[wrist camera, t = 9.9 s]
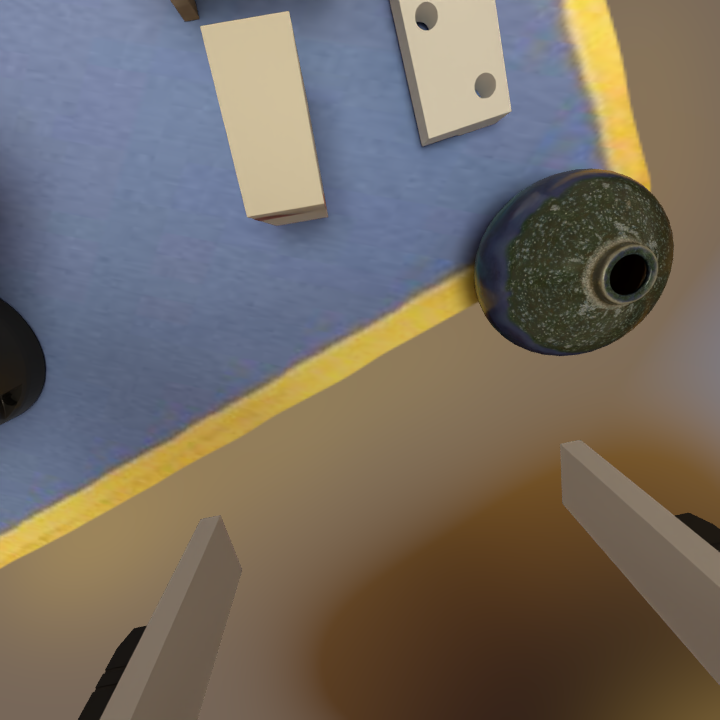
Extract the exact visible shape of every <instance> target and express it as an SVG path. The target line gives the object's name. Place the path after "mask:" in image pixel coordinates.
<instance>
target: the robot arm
mask: <svg viewBox="0 0 720 720" xmlns="http://www.w3.org/2000/svg"><path fill="white" fill-rule="evenodd" d="M44 379H45V364H44V358H43V354H42V351H41V348H40V345H39V343H38V341H37V339H36V337H35V335H34V334H33V332H32V330H31V329H30V327H29V326H28V325H27V323H26V322H25V321H24V320H23V319H22V317H21V316H20V315H19V314H18V313H17V312H16V311H15V310H14V309H12V308H11V307H10V306H9V305H8V304H6V303H5V302H4V301H2V300H1V299H0V425H1V424H3V423H5V422H7V421H9V420H11V419H13V418H15V417H16V416H18V415H20V414H22V413H23V412H25V411H26V410H27V409H28V408H30V407H31V406H32V405H33V403H34V402H35V401H36V400H37V398H38V396H39V394H40V393H41V390H42V387H43V384H44ZM560 449H561V477H562V503H563V505H564V506H565V507H566V508H567V509H568V510H569V511H570V512H571V514H572V515H573V516H574V517H575V518H576V520H577V521H578V522H579V523H580V524H581V525H582V526H583V528H584V529H585V530H586V531H587V532H588V533H589V534H590V536H591V537H592V538H593V539H594V540H595V542H596V543H597V544H598V545H599V546H600V547H601V548H602V550H603V551H604V552H605V553H606V554H607V555H608V556H609V558H610V559H611V560H612V561H613V562H614V563H615V565H616V566H617V567H618V568H619V569H620V570H621V572H622V573H623V574H624V575H625V576H626V577H627V579H628V580H629V581H630V582H631V583H632V584H633V585H634V587H635V588H636V589H637V590H638V591H639V592H640V593H641V595H642V596H643V597H644V598H645V599H646V601H647V602H648V603H649V604H650V605H651V606H652V607H653V608H654V610H655V611H656V612H657V613H658V614H659V616H660V617H661V618H662V619H663V620H664V621H665V622H666V624H667V625H668V626H669V627H670V628H671V629H672V631H673V632H674V633H675V634H676V635H677V636H678V637H679V639H680V640H681V641H682V642H683V643H684V644H685V646H686V647H687V648H688V649H689V650H690V651H691V653H692V654H693V655H694V656H695V657H696V658H697V659H698V661H699V662H700V663H701V664H702V665H703V666H704V668H706V670H707V671H708V672H709V673H710V675H711V676H712V677H713V678H714V679H715V680H716V681H717V683H718V684H719V685H720V529H719V528H717V527H716V526H715V525H713V524H711V523H710V522H707V521H705V520H703V519H701V518H699V517H697V516H695V515H692V514H691V513H685V514H680V515H675V516H674V515H673V514H672V513H670V512H669V511H668V510H666V509H665V508H664V507H663V506H662V505H660V504H659V503H658V502H657V501H655V500H654V499H653V498H652V497H650V496H649V495H648V494H647V493H645V492H644V491H643V490H642V489H640V488H639V487H638V486H637V485H636V484H634V483H633V482H632V481H630V480H629V479H628V478H627V477H625V476H624V475H623V474H622V473H621V472H620V471H618V470H617V469H616V468H615V467H613V466H612V465H611V464H610V463H608V462H607V461H606V460H605V459H603V458H602V457H601V456H600V455H598V454H597V453H596V452H595V451H593V450H592V449H591V448H590V447H589V446H587V445H586V444H585V443H584V442H582V441H581V440H578V441H572V442H568V443H563V444H560ZM241 572H242V568H241V565H240V563H239V560H238V558H237V555H236V553H235V550H234V548H233V545H232V543H231V540H230V538H229V535H228V533H227V530H226V528H225V525H224V523H223V520H222V518H221V516H220V515H219V516H214V517H209V518H204V519H201V520H200V522H199V524H198V526H197V528H196V530H195V532H194V534H193V536H192V538H191V540H190V542H189V544H188V546H187V548H186V550H185V552H184V554H183V556H182V558H181V559H180V561H179V564H178V566H177V567H176V569H175V571H174V573H173V575H172V577H171V579H170V581H169V583H168V585H167V587H166V589H165V592H164V593H163V595H162V597H161V599H160V601H159V603H158V605H157V607H156V609H155V611H154V613H153V615H152V617H151V619H150V621H149V623H148V625H147V626H143V627H138V628H134V629H133V630H132V631H131V633H130V634H129V635H128V636H127V637H126V638H125V640H124V641H123V642H122V643H121V644H120V646H119V647H118V648H117V649H116V651H115V653H114V655H113V657H112V658H111V660H110V662H109V664H108V666H107V668H106V669H105V670H106V672H105V674H103V675H102V677H101V679H100V680H99V682H98V684H97V686H96V690H95V692H93V693H92V695H91V697H90V698H89V700H88V702H87V704H86V706H85V707H84V710H83V711H82V713H81V715H80V717H79V718H78V720H198V716H199V713H200V710H201V706H202V703H203V700H204V696H205V693H206V690H207V686H208V683H209V680H210V676H211V673H212V669H213V666H214V662H215V659H216V656H217V653H218V649H219V646H220V643H221V639H222V635H223V633H224V629H225V626H226V622H227V619H228V616H229V612H230V609H231V606H232V602H233V599H234V596H235V592H236V589H237V585H238V582H239V579H240V576H241Z"/></svg>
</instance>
